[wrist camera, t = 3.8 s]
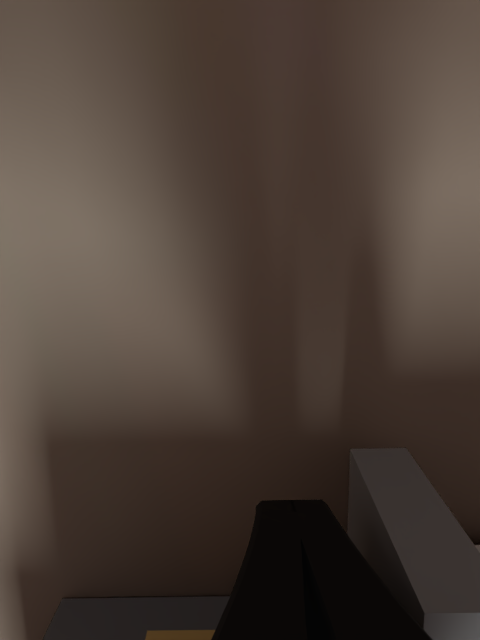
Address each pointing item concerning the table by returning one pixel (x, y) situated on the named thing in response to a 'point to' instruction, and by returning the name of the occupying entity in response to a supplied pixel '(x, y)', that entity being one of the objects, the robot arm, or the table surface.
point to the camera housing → (137, 618)
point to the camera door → (414, 542)
